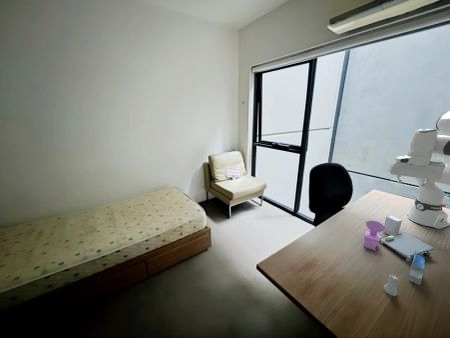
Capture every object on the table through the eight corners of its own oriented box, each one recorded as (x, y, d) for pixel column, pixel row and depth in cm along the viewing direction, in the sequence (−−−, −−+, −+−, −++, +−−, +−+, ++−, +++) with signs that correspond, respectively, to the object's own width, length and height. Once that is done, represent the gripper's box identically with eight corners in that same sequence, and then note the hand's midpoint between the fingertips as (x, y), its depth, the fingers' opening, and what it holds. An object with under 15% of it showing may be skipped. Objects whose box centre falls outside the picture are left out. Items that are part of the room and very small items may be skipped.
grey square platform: (400, 239, 110) (402, 233, 109) (434, 259, 95) (436, 253, 94) (376, 242, 107) (377, 237, 106) (406, 263, 92) (408, 257, 91)
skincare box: (397, 237, 111) (403, 220, 108) (393, 239, 110) (398, 221, 106) (386, 232, 117) (390, 215, 113) (381, 233, 115) (386, 216, 112)
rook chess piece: (380, 287, 80) (384, 272, 78) (389, 286, 80) (394, 271, 78) (389, 297, 76) (394, 281, 74) (399, 296, 76) (405, 280, 74)
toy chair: (359, 247, 104) (365, 223, 100) (362, 239, 110) (367, 217, 106) (378, 254, 99) (385, 229, 95) (380, 245, 105) (386, 222, 101)
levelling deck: (404, 233, 107) (405, 229, 107) (433, 249, 95) (434, 245, 94) (379, 240, 106) (380, 236, 105) (405, 258, 93) (406, 253, 92)
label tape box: (420, 286, 80) (428, 263, 77) (407, 280, 83) (414, 257, 80) (420, 274, 86) (428, 252, 83) (408, 269, 89) (416, 247, 86)
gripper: (444, 161, 95) (435, 186, 99) (391, 156, 105) (386, 179, 109) (449, 163, 90) (440, 190, 94) (394, 158, 100) (387, 182, 104)
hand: (410, 184), depth 102 cm, fingers open, 8 cm apart
